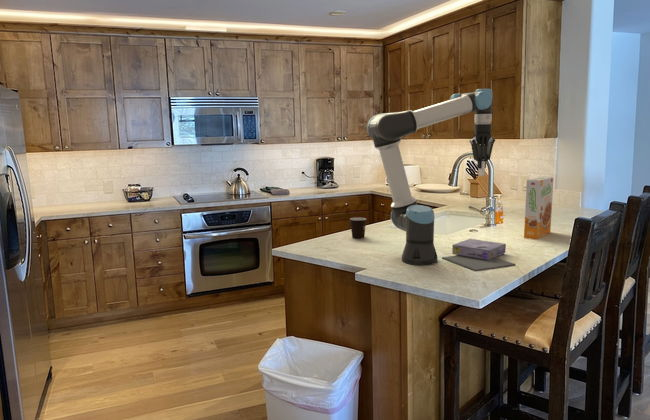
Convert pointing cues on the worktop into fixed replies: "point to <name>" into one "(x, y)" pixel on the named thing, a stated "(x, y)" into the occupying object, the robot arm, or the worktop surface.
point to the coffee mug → (358, 227)
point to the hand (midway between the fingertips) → (481, 175)
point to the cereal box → (538, 207)
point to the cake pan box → (478, 249)
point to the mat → (478, 262)
